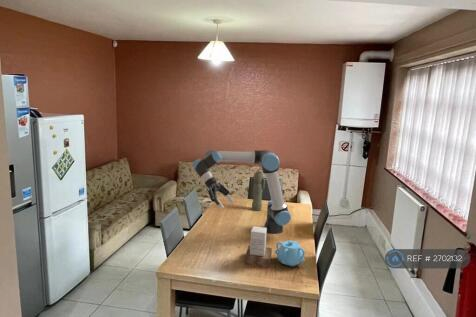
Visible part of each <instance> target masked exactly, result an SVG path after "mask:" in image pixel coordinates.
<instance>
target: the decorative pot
mask: <svg viewBox="0 0 476 317" xmlns="http://www.w3.org/2000/svg"><path fill="white" fill-rule="evenodd" d="M279 244H280V246H279ZM275 246H276V250H275V254H276V258H277V261H278V262H279V263H281V264H284V265H286V266H289V267H296V266H297V265H298V264H300V263H304V262H305V260H306V259H305V258H304V256H305V255H306V250H305V249H304V248H303V247H301V245H300V244H299V242H298V241H297V240H285V241H278V242H277V243H276V245H275Z"/></svg>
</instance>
